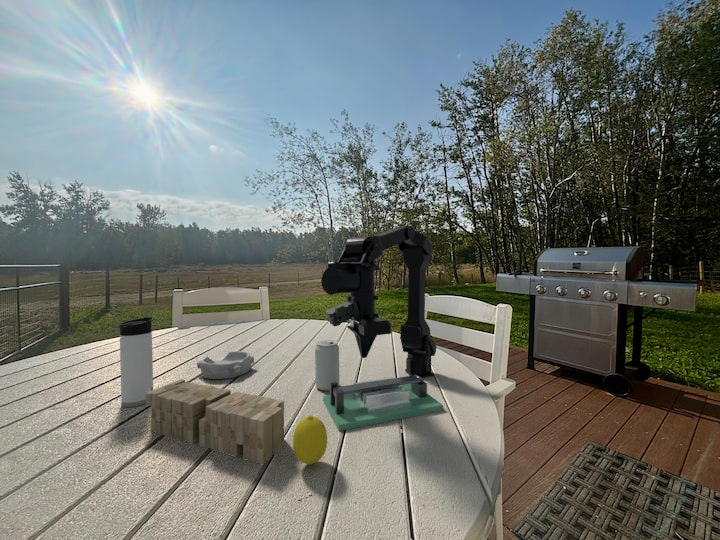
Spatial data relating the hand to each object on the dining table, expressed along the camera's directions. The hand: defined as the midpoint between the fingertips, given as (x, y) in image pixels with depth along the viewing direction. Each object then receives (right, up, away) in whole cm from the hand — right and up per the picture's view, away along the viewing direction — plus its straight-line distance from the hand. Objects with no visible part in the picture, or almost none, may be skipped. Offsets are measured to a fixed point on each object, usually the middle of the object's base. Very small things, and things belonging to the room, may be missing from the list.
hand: (363, 357), depth 71 cm
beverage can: (-10, -11, +10) cm, 18 cm away
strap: (+4, -7, -1) cm, 8 cm away
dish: (-41, -11, +22) cm, 48 cm away
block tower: (-29, -12, -12) cm, 33 cm away
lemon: (-9, -12, -21) cm, 26 cm away
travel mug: (-55, -12, +3) cm, 56 cm away
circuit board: (+4, -11, -1) cm, 12 cm away
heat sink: (+4, -10, -1) cm, 10 cm away
